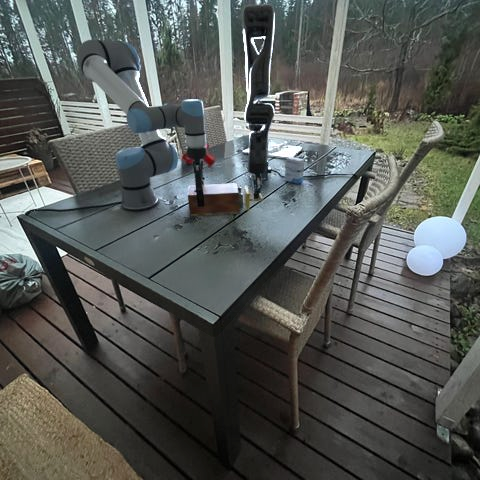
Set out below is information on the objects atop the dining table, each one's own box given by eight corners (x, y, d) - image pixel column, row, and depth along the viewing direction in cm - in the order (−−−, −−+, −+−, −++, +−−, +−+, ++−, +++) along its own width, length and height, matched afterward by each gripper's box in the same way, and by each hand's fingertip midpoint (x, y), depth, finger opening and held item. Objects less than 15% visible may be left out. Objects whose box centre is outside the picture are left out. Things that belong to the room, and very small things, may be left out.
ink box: (302, 181, 142) (305, 159, 136) (297, 184, 139) (300, 161, 133) (289, 177, 147) (291, 156, 141) (284, 180, 144) (285, 158, 138)
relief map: (291, 159, 177) (291, 151, 174) (243, 153, 190) (243, 145, 187) (302, 149, 197) (303, 142, 194) (258, 144, 211) (258, 137, 208)
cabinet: (236, 202, 121) (236, 183, 116) (239, 213, 112) (238, 192, 107) (191, 205, 120) (189, 185, 115) (190, 216, 111) (187, 195, 106)
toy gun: (219, 159, 165) (203, 138, 161) (216, 161, 162) (200, 139, 158) (199, 174, 175) (184, 155, 171) (196, 176, 172) (181, 156, 168)
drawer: (259, 200, 121) (260, 184, 117) (263, 209, 113) (264, 193, 109) (204, 203, 119) (202, 187, 115) (204, 212, 111) (202, 196, 107)
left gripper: (187, 139, 111) (193, 190, 123) (183, 155, 91) (191, 213, 103) (206, 138, 111) (210, 189, 123) (206, 154, 92) (210, 212, 104)
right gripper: (246, 155, 112) (245, 194, 121) (250, 165, 101) (249, 207, 110) (264, 155, 112) (262, 194, 122) (270, 164, 101) (267, 206, 111)
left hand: (201, 200), depth 113 cm, fingers closed on cabinet, 10 cm apart
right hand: (256, 200), depth 116 cm, fingers closed
